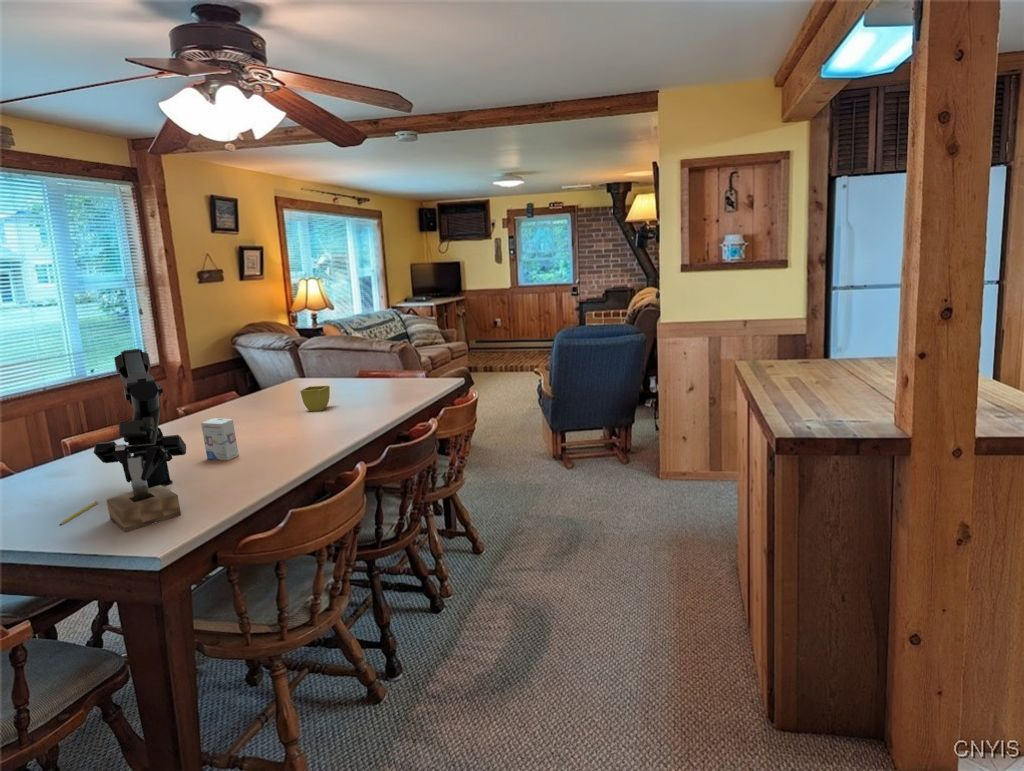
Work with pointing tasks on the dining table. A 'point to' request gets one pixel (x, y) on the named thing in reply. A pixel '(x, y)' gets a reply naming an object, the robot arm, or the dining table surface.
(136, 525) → the socket block
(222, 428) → the ink box
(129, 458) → the pin
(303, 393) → the flower pot
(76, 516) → the pencil
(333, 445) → the dining table surface
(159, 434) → the robot arm
